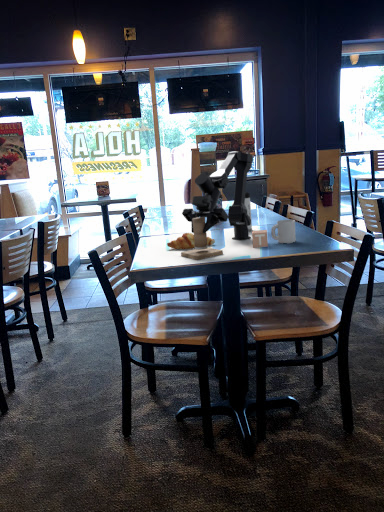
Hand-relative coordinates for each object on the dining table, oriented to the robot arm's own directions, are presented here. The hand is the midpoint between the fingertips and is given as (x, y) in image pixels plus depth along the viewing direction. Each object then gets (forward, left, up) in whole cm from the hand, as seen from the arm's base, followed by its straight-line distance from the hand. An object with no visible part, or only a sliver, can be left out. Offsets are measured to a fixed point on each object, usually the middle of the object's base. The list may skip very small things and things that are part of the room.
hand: (198, 232), depth 161 cm
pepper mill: (-1, +1, -7) cm, 7 cm away
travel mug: (-29, +47, -10) cm, 56 cm away
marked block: (+6, +26, -10) cm, 29 cm away
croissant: (-18, +8, -10) cm, 22 cm away
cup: (+9, +36, -10) cm, 39 cm away
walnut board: (-1, +1, -9) cm, 9 cm away
